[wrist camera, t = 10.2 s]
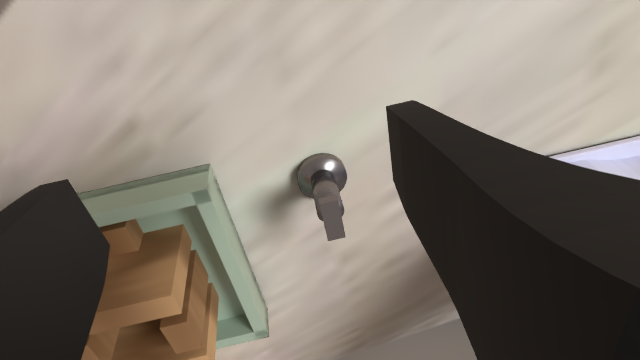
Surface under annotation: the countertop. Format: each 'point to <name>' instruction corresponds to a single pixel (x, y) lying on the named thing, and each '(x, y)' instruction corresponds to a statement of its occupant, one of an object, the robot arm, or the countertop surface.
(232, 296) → the tray
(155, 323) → the wooden blocks
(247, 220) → the countertop surface
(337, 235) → the lever
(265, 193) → the countertop surface
